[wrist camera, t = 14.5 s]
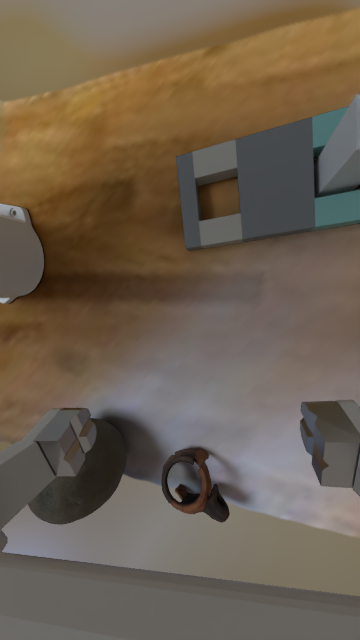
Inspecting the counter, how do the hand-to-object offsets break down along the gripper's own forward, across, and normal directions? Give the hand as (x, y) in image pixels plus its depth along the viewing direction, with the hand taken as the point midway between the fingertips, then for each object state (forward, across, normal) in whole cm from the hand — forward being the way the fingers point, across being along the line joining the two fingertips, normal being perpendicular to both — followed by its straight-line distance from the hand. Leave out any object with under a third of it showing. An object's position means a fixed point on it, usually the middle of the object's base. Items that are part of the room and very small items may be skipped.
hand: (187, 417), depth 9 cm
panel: (+29, -10, -10) cm, 32 cm away
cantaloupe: (+23, +23, +28) cm, 43 cm away
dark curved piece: (+20, +5, +33) cm, 39 cm away
